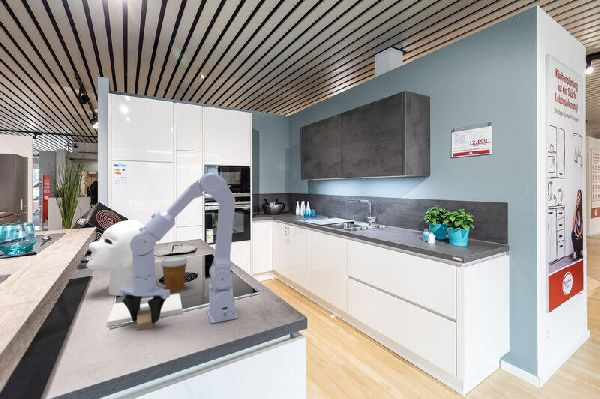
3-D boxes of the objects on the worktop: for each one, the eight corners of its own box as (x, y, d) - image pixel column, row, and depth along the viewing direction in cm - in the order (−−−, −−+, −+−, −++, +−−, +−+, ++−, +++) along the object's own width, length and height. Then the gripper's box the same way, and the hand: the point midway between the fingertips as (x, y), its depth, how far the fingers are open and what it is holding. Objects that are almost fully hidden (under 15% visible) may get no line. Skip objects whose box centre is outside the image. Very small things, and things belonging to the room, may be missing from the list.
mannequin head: (137, 306, 107) (175, 236, 116) (69, 289, 93) (118, 210, 101) (124, 293, 119) (159, 231, 128) (62, 276, 105) (106, 207, 114)
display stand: (182, 313, 92) (182, 304, 91) (106, 327, 83) (106, 317, 83) (179, 297, 104) (179, 290, 104) (113, 308, 95) (113, 300, 95)
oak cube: (153, 327, 83) (153, 313, 82) (137, 330, 81) (137, 316, 81) (153, 321, 86) (153, 308, 86) (138, 324, 85) (138, 310, 84)
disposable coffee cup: (193, 286, 116) (192, 256, 115) (175, 294, 107) (175, 262, 106) (174, 283, 119) (173, 254, 118) (155, 291, 110) (154, 260, 109)
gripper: (175, 271, 86) (177, 316, 86) (131, 269, 88) (133, 312, 89) (160, 279, 79) (162, 328, 79) (113, 276, 81) (115, 324, 82)
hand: (145, 320), depth 84 cm, fingers closed on oak cube, 6 cm apart
